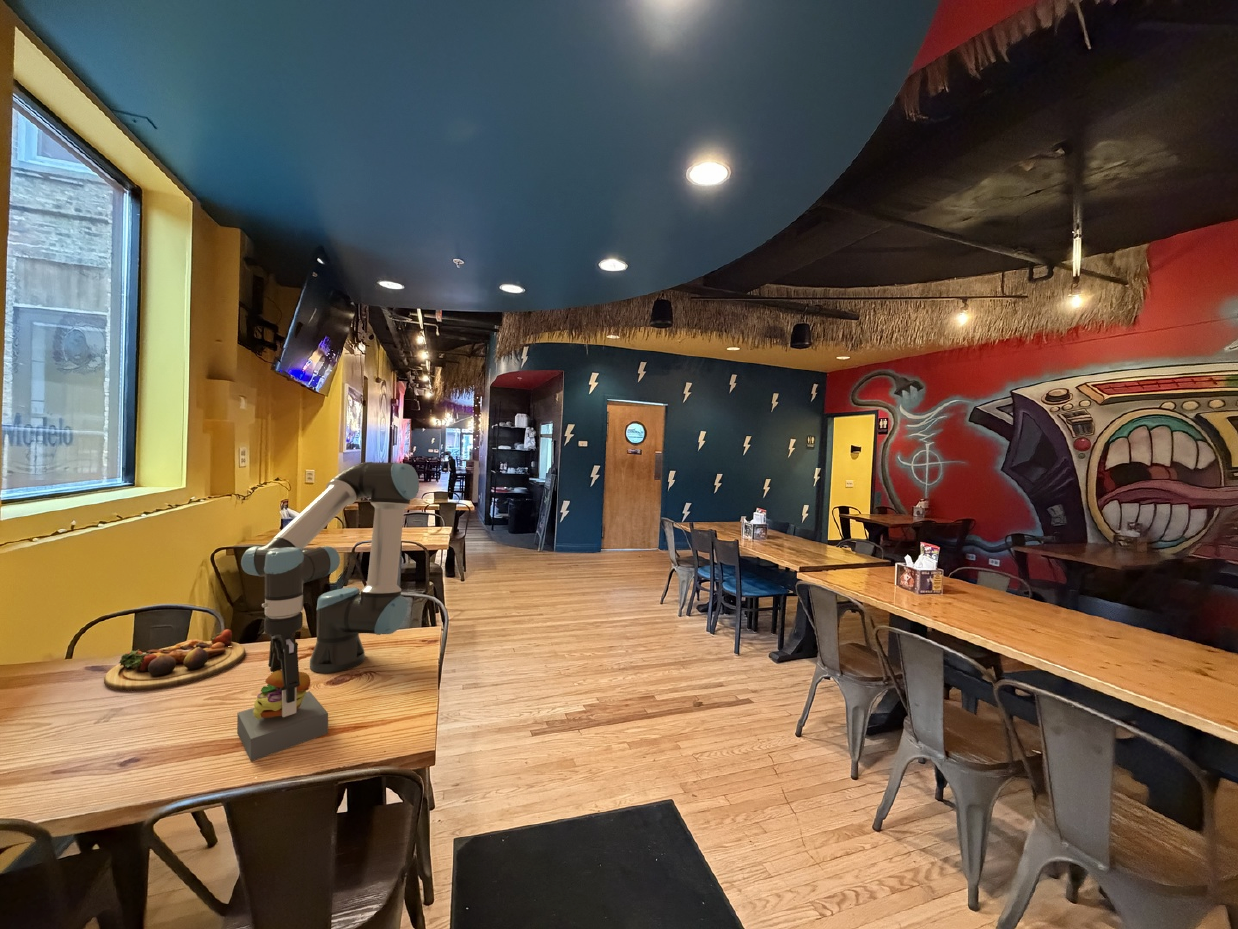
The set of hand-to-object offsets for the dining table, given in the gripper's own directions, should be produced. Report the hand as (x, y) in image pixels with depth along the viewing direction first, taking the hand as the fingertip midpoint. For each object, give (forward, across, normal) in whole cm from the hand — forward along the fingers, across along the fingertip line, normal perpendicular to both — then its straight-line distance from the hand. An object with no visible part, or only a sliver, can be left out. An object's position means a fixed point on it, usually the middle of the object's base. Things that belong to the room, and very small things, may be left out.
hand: (283, 706), depth 116 cm
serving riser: (+7, 0, 0) cm, 7 cm away
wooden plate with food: (+7, -63, -13) cm, 65 cm away
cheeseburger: (+1, 0, 0) cm, 1 cm away
